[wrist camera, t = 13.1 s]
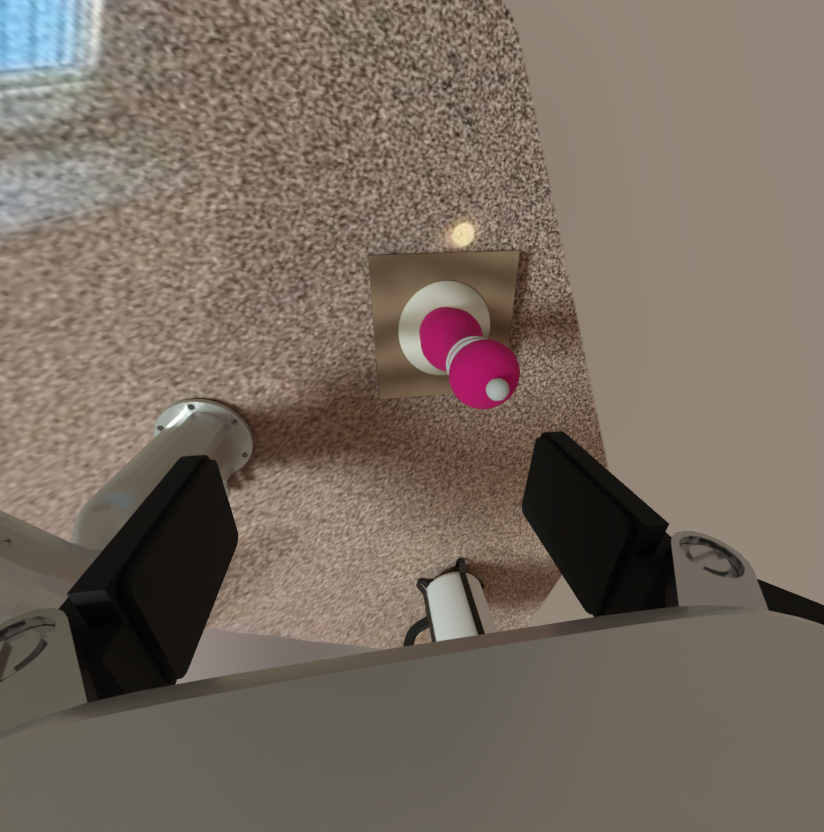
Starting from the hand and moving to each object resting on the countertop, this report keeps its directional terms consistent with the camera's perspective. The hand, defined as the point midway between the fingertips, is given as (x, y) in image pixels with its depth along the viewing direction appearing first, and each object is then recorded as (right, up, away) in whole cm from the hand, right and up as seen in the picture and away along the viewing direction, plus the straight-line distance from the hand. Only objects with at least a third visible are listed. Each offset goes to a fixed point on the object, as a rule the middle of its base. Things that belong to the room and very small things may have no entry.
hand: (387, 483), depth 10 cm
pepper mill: (+5, +13, +33) cm, 36 cm away
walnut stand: (+5, +14, +35) cm, 38 cm away
